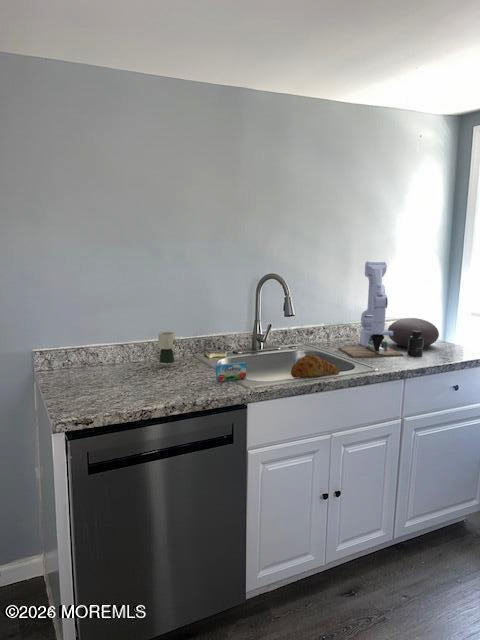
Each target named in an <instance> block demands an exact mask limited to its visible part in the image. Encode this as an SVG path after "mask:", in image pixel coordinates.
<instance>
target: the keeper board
mask: <svg viewBox="0 0 480 640" xmlns="http://www.w3.org/2000/svg"><path fill="white" fill-rule="evenodd" d="M368 344H370V345H374V344H373V341H368ZM380 347H382V348H384V354H378V353H377V352H375V351H373V350H371V349H369V348H367V346H366V347H365V346H338V350H339V351H341V352H343V353H344V354H346V355H348V356H350V357H351V358H355V359H358V358H359V359H360V358H361V359H362V358H363V359H364V358H391V357H404V353H401V352H400V351H397V350H395V349H393V348H391V347H388V341H386V340H383V341H382V342H381V344H380Z"/></svg>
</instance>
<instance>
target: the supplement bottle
mask: <svg viewBox="0 0 480 640" xmlns="http://www.w3.org/2000/svg"><path fill="white" fill-rule="evenodd" d="M411 335H412V336H410V337H409V340H408V347H407V353H406V354H407V356H409V357H414V358H421V357H423V353H424V347H423V345H424V338H423V337H422V331H418V330H412V332H411Z"/></svg>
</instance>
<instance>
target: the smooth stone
mask: <svg viewBox="0 0 480 640" xmlns="http://www.w3.org/2000/svg"><path fill="white" fill-rule="evenodd" d="M412 330H418V331H422V337H423V338H424V345H423V348H425V347H428V346H429V347H430V346H431V345H433V344H435V343H436V342H437V341H438V339H439V337H440V332H439V330H438V328H437V326H436V325H434V324H433V323H432V322H430V321H428V320H425V319H422V318H416V317H405V318H401V319H398V320H397V319H396V321H394V322H391V324H390V325H389V326H388V328H387V331H393V335H387V336H388V338H389V339H390V340H391V341H392V342H394V343H395V344H396V345H399V346H402V347H404V348H408V340H409V337H410V336H412V335H411V332H412Z"/></svg>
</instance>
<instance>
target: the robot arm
mask: <svg viewBox="0 0 480 640" xmlns="http://www.w3.org/2000/svg"><path fill="white" fill-rule="evenodd" d="M364 265H365V266H364V277H366V278H367V279H368V290H367V291H368V293H367V294H368V295H367V309H365V310H364V311H363V312H361V315H360V316H361V317H360V327H361V329H360V331H359V333H360V334H359V335H360V336H359V342H357V344H359V345H361V346H362V347H366V346H367V342H368V341H369V337H371V338H372V341H373V344H374V349H375V351H378V350H379V347H380V346H381V342H382V341H384V339H385V336H388V335H393V331H388V330H385V325H386V312H387V311H386V310H387V307H388V302H389V300H388V296H387V294H386V287H385V285H384V284H383V277H384V276H385V274H386V272H387V266H388V265H387V262H386V261H385V260H382V261H381V260H380V261H379V260H377V261H376V260H366V261H365V264H364Z"/></svg>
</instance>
